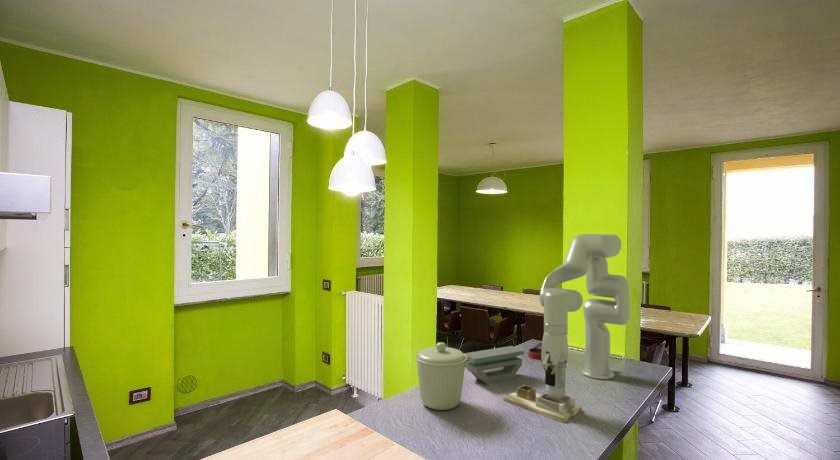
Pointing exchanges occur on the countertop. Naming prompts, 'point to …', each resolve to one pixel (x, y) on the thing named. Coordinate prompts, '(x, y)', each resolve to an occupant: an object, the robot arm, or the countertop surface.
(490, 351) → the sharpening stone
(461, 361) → the canister
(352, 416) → the countertop surface
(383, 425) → the countertop surface
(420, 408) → the countertop surface
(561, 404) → the wooden organizer tray
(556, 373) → the energy drink can
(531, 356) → the canned food
